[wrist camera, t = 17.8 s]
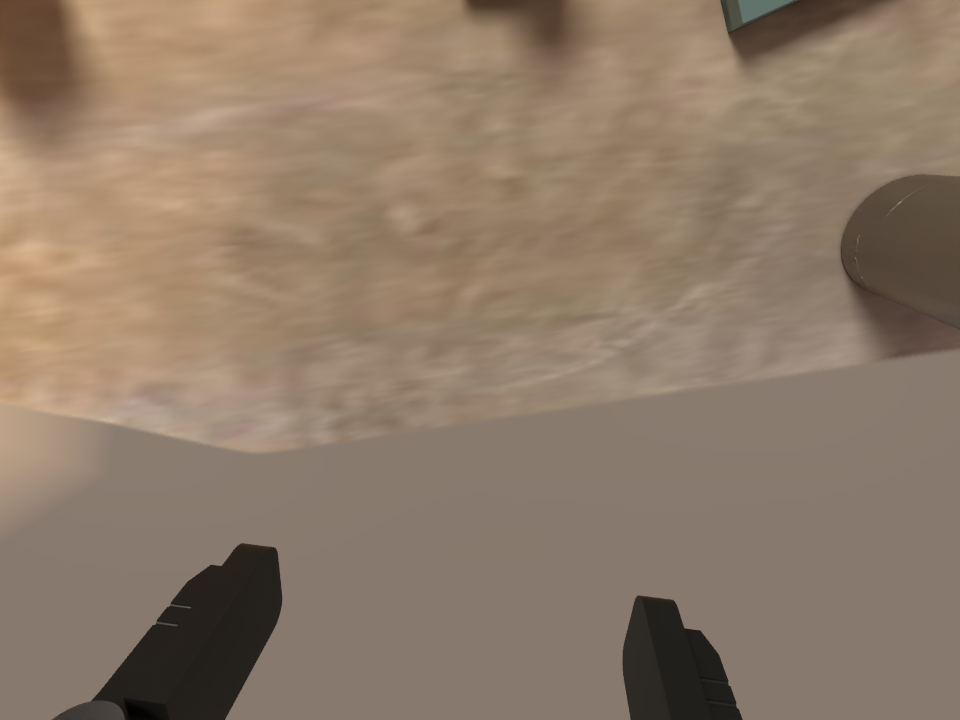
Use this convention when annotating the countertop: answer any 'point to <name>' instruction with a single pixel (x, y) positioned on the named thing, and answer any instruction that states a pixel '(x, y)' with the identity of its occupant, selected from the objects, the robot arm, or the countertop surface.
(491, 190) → the countertop surface
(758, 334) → the countertop surface
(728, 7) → the tray
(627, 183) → the countertop surface
